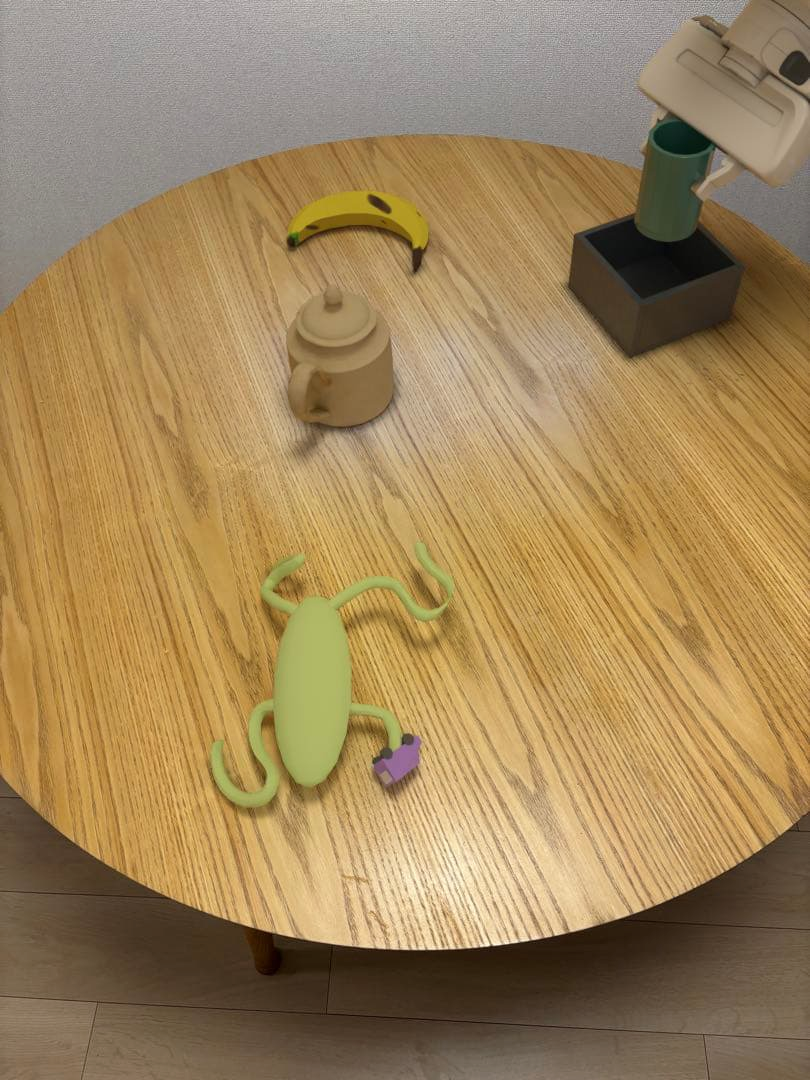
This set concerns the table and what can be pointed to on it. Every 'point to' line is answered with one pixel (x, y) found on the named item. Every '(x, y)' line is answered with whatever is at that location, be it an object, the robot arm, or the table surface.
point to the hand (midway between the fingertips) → (670, 176)
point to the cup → (672, 181)
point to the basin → (653, 283)
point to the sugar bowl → (339, 360)
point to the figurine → (322, 688)
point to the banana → (362, 217)
